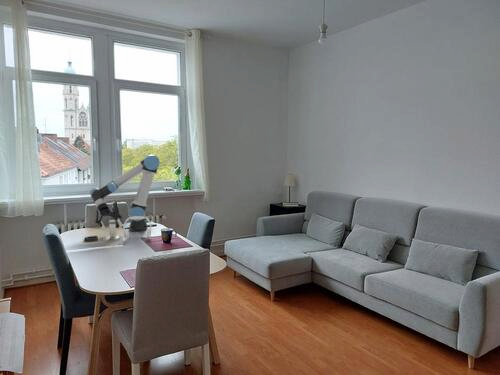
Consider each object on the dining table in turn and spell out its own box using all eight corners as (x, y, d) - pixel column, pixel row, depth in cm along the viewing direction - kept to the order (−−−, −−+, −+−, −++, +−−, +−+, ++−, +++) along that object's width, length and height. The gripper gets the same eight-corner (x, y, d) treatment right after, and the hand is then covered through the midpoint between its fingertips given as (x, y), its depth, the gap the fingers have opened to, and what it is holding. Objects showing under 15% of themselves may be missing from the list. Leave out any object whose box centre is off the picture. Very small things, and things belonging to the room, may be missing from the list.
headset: (151, 237, 269) (151, 214, 267) (151, 240, 262) (151, 216, 260) (124, 239, 264) (123, 216, 262) (123, 242, 257) (122, 218, 255)
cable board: (120, 237, 270) (120, 232, 270) (122, 240, 261) (121, 235, 261) (83, 241, 259) (83, 236, 259) (83, 244, 250) (83, 239, 250)
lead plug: (115, 236, 266) (115, 219, 265) (116, 237, 262) (115, 220, 261) (109, 237, 264) (108, 220, 263) (109, 238, 260) (108, 221, 259)
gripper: (115, 206, 281) (126, 227, 273) (84, 211, 262) (95, 233, 254) (118, 200, 277) (130, 221, 269) (87, 204, 258) (98, 227, 250)
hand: (113, 227), depth 261 cm, fingers open, 13 cm apart
